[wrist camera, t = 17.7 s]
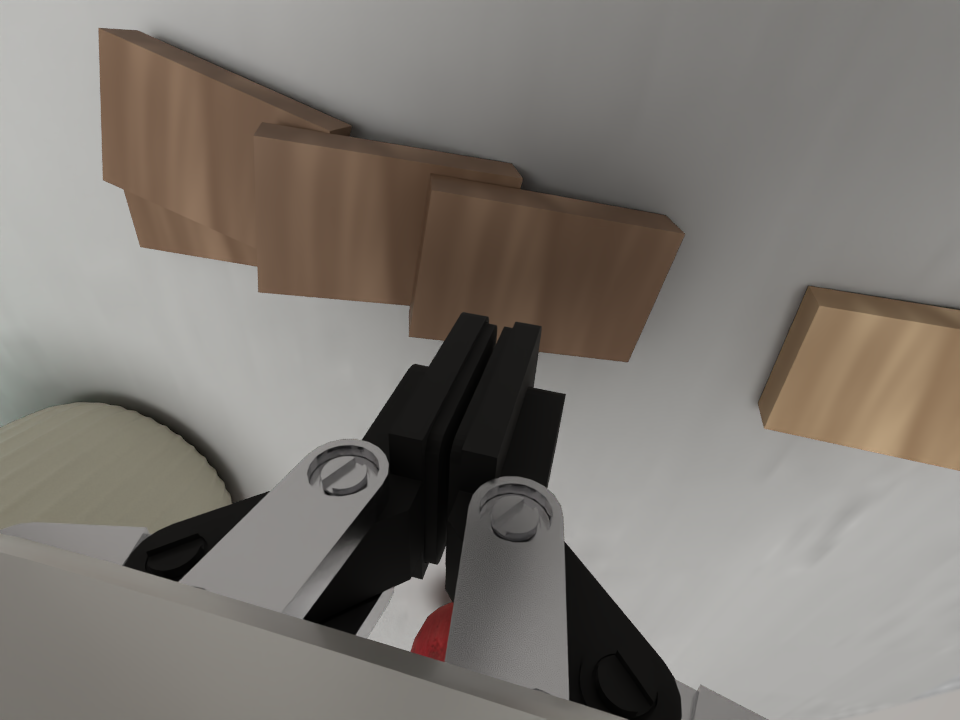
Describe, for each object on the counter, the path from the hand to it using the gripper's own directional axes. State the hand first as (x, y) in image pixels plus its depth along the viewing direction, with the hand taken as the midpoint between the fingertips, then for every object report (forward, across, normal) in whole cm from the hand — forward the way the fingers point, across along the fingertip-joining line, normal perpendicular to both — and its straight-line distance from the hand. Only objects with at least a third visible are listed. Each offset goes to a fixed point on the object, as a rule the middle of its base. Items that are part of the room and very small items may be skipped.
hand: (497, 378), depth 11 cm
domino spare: (+8, -17, +3) cm, 19 cm away
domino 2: (+9, +2, 0) cm, 9 cm away
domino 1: (+9, -4, +2) cm, 10 cm away
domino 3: (+8, +8, 0) cm, 11 cm away
